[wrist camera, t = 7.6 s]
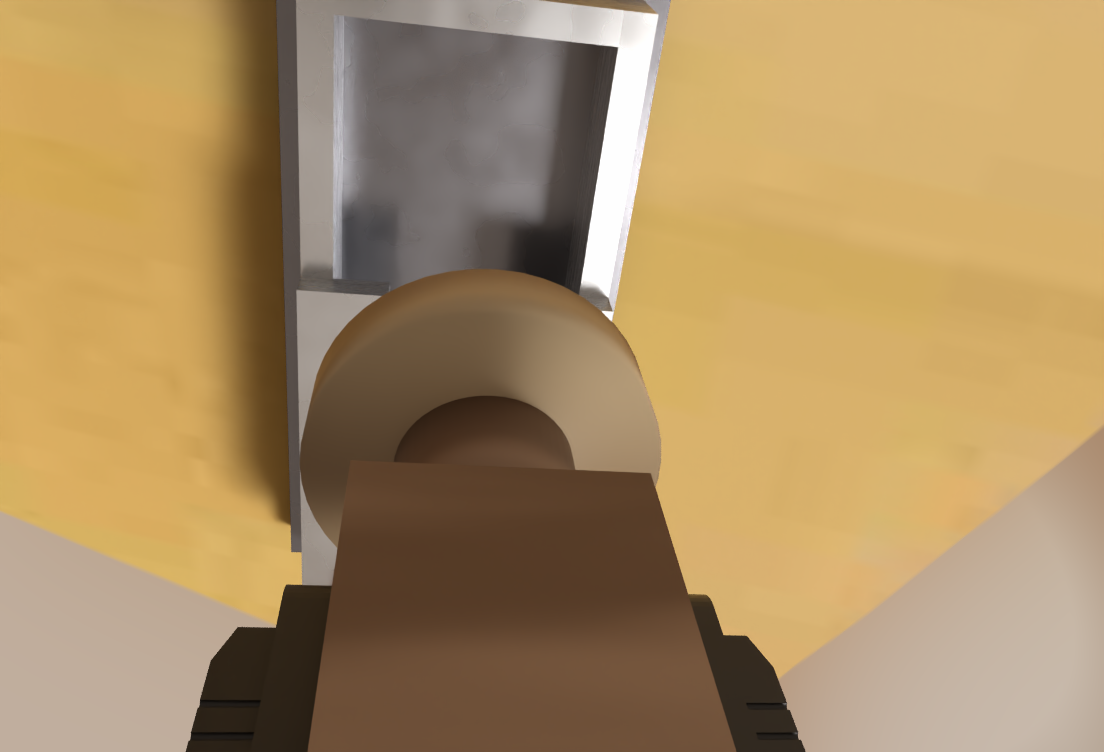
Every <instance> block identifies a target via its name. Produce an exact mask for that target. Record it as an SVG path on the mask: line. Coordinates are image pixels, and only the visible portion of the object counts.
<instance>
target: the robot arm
mask: <svg viewBox="0 0 1104 752" xmlns="http://www.w3.org/2000/svg"><path fill="white" fill-rule="evenodd" d="M331 589H332V586H326V585H286V586H285V589H284V592H283V596H282V601H281V606H280V611H279V616H278V620H277V625H276V628H258V627H257V628H255V627H253V628H252V627H238V628H237V629H236V630H235V631H234V633H233V634H232V636H230V638H229V639H228V640H227V641H226V643H225V644H224V645H223V646H222V648H221V649H220V650H219V651H218V652H217V654H216V655H215V656H214V657H213V659H212V660H211V662H210V666H209V669H208V673H207V677H206V680H205V684H204V687H203V692H202V695H201V698H200V706H199V708H198V709H197V713H196V716H195V720H194V724H193V728H192V731H191V739H190V741H189V742H188V745H187V749H186V752H308V745H309V738H310V732H311V725H312V718H313V711H314V704H315V698H316V691H317V684H318V677H319V670H320V664H321V657H322V650H323V643H324V636H325V630H326V623H327V616H328V609H329V602H330V596H331ZM688 596H689V599H690V602H691V606H692V609H693V612H694V615H695V619H696V622H697V625H698V628H699V632H700V635H701V638H702V641H703V645H704V648H705V651H706V654H707V658H708V661H709V664H710V667H711V671H712V674H713V677H714V680H715V684H716V687H717V690H718V693H719V697H720V700H721V703H722V706H723V710H724V713H725V716H726V719H727V723H728V726H729V729H730V732H731V735H732V739H733V742H734V745H735V748H736V752H805V749H804V747H803V744H802V741H801V740H799V739H798V731H797V728H796V726H795V723H794V720H793V718H792V715H791V712H790V710H787V702H786V699H785V697H784V694H783V691H782V689H781V686H780V684H779V681H778V678H777V676H776V673H775V670H774V668H773V666H772V665H771V664H770V663H769V662H768V660H767V659H766V658H765V657H764V656H763V655H762V653H761V652H760V651H759V650H758V649H757V647H756V646H755V645H754V644H753V643H752V642H751V640H750V639H749V638H748V637H747V636H730V635H723V633H722V630H721V627H720V624H719V621H718V618H717V615H716V612H715V609H714V606H713V604H712V601H711V600H710V598H709V597H708V596H707V595H696V594H688Z"/></svg>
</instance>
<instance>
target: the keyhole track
mask: <svg viewBox="0 0 1104 752" xmlns="http://www.w3.org/2000/svg"><path fill="white" fill-rule="evenodd" d="M670 1H671V0H276V13H277V49H278V85H279V120H280V156H281V192H282V228H283V264H284V300H285V336H286V372H287V408H288V444H289V480H290V516H291V552H302V585H326V586H332V582H333V575H334V568H335V561H336V555H337V547H336V546H335V545H334V544H333V543H332V542H331V540H330V539H329V538H328V537H327V536H326V535H325V533H324V532H323V530H322V529H321V527H320V526H319V524H318V523H317V521H316V520H315V518H314V516H313V514H312V512H311V509H310V507H309V505H308V503H307V501H306V497H305V493H304V490H303V486H302V482H301V473H300V447H301V440H302V436H303V432H304V427H305V423H306V418H307V414H308V410H309V405H310V401H311V397H312V392H313V388H314V384H315V380H316V375H317V373H318V370H319V368H320V365H321V363H322V360H323V358H324V356H325V354H326V352H327V351H328V349H329V348H330V346H331V344H332V343H333V341H334V339H335V338H336V337H337V336H338V334H339V333H340V332H341V331H342V330H343V328H344V327H345V326H346V325H347V324H348V322H349V321H351V320H352V319H353V318H354V317H355V316H356V315H357V314H358V313H359V312H361V311H362V310H363V309H364V308H365V307H367V306H368V305H369V304H371V303H372V302H374V301H375V300H377V299H378V298H380V297H381V296H383V295H384V294H386V293H388V292H390V291H392V290H394V289H396V288H398V287H400V286H402V285H404V284H407V283H410V282H413V281H415V280H418V279H421V278H424V277H427V276H431V275H436V274H440V273H445V272H449V271H458V270H468V269H499V270H506V271H514V272H521V273H525V274H528V275H532V276H536V277H540V278H544V279H546V280H549V281H551V282H554V283H556V284H558V285H561V286H563V287H565V288H567V289H569V290H571V291H573V292H574V293H576V294H578V295H580V296H582V297H583V298H585V299H586V300H587V301H589V302H590V303H591V304H593V305H594V306H595V307H597V308H598V309H599V310H601V311H602V312H603V313H604V314H605V315H606V316H607V317H608V318H609V319H610V320H611V321H612V319H613V314H614V308H615V303H616V297H617V292H618V286H619V281H620V275H621V270H622V264H623V259H624V253H625V248H626V242H627V237H628V232H629V226H630V221H631V215H632V210H633V204H634V199H635V193H636V188H637V182H638V177H639V171H640V166H641V160H642V155H643V149H644V144H645V138H646V133H647V127H648V122H649V116H650V111H651V105H652V100H653V94H654V89H655V83H656V78H657V72H658V67H659V61H660V56H661V50H662V45H663V39H664V34H665V28H666V23H667V17H668V12H669V6H670Z"/></svg>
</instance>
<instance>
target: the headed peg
mask: <svg viewBox="0 0 1104 752" xmlns="http://www.w3.org/2000/svg"><path fill="white" fill-rule="evenodd" d="M660 463H661V438H660V432H659V426H658V422H657V419H656V416H655V413H654V410H653V407H652V404H651V401H650V398H649V395H648V392H647V390H646V387H645V384H644V381H643V378H642V375H641V372H640V369H639V366H638V363H637V361H636V358H635V356H634V354H633V352H632V350H631V348H630V346H629V344H628V342H627V341H626V339H625V338H624V336H623V335H622V334H621V332H620V331H619V330H618V328H617V327H616V326H615V324H614V323H613V322H612V321H611V320H610V319H609V318H608V317H607V316H606V315H605V314H604V313H603V312H602V311H601V310H599V309H598V308H597V307H595V306H594V305H593V304H591V303H590V302H589V301H587V300H586V299H585V298H583V297H582V296H580V295H578V294H576V293H574V292H573V291H571V290H569V289H567V288H565V287H563V286H561V285H558V284H556V283H554V282H551V281H549V280H546V279H544V278H540V277H536V276H532V275H528V274H525V273H521V272H514V271H506V270H499V269H468V270H458V271H449V272H445V273H440V274H436V275H431V276H427V277H424V278H421V279H418V280H415V281H413V282H410V283H407V284H404V285H402V286H400V287H398V288H396V289H394V290H392V291H390V292H388V293H386V294H384V295H383V296H381V297H380V298H378V299H377V300H375V301H374V302H372V303H371V304H369V305H368V306H367V307H365V308H364V309H363V310H362V311H361V312H359V313H358V314H357V315H356V316H355V317H354V318H353V319H352V320H351V321H349V322H348V324H347V325H346V326H345V327H344V328H343V330H342V331H341V332H340V333H339V334H338V336H337V337H336V338H335V339H334V341H333V343H332V344H331V346H330V348H329V349H328V351H327V352H326V354H325V356H324V358H323V360H322V363H321V365H320V368H319V370H318V373H317V375H316V380H315V384H314V388H313V392H312V397H311V401H310V405H309V410H308V414H307V418H306V423H305V427H304V432H303V436H302V440H301V447H300V473H301V482H302V486H303V490H304V493H305V497H306V501H307V503H308V505H309V507H310V509H311V512H312V514H313V516H314V518H315V520H316V521H317V523H318V524H319V526H320V527H321V529H322V530H323V532H324V533H325V535H326V536H327V537H328V538H329V539H330V540H331V542H332V543H333V544H334V545H335V546H336V547H337V555H336V561H335V568H334V575H333V582H332V589H331V596H330V602H329V609H328V616H327V623H326V630H325V636H324V643H323V650H322V657H321V664H320V670H319V677H318V684H317V691H316V698H315V704H314V711H313V718H312V725H311V732H310V738H309V745H308V752H736V748H735V745H734V742H733V739H732V735H731V732H730V729H729V726H728V723H727V719H726V716H725V713H724V710H723V706H722V703H721V700H720V697H719V693H718V690H717V687H716V684H715V680H714V677H713V674H712V671H711V667H710V664H709V661H708V658H707V654H706V651H705V648H704V645H703V641H702V638H701V635H700V632H699V628H698V625H697V622H696V619H695V615H694V612H693V609H692V606H691V602H690V599H689V596H688V593H687V589H686V586H685V583H684V580H683V576H682V573H681V570H680V567H679V563H678V560H677V557H676V554H675V550H674V547H673V544H672V541H671V537H670V534H669V531H668V528H667V524H666V521H665V518H664V515H663V511H662V508H661V505H660V502H659V498H658V495H657V492H656V489H655V487H656V483H657V480H658V476H659V470H660Z"/></svg>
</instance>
